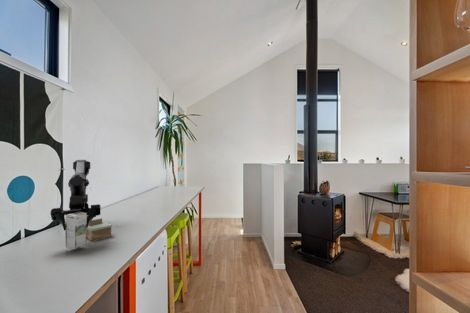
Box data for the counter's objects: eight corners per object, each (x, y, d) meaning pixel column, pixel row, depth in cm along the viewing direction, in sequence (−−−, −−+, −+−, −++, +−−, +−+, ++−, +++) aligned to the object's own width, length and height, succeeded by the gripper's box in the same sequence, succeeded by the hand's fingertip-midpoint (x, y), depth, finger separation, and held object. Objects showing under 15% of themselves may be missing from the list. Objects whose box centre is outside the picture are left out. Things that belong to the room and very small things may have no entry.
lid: (81, 226, 122) (81, 220, 122) (100, 222, 130) (100, 216, 130) (92, 231, 115) (91, 224, 115) (111, 226, 122) (111, 219, 122)
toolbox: (82, 236, 122) (82, 227, 122) (100, 232, 130) (100, 223, 130) (92, 241, 115) (92, 231, 115) (111, 236, 122) (111, 227, 122)
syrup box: (77, 243, 109) (77, 211, 108) (87, 244, 107) (86, 212, 106) (65, 247, 103) (64, 214, 103) (75, 249, 101) (74, 215, 101)
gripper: (51, 190, 103) (46, 221, 94) (100, 187, 113) (100, 215, 103) (54, 204, 110) (50, 235, 101) (100, 200, 120) (100, 228, 110)
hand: (76, 228), depth 104 cm, fingers closed on syrup box, 8 cm apart
